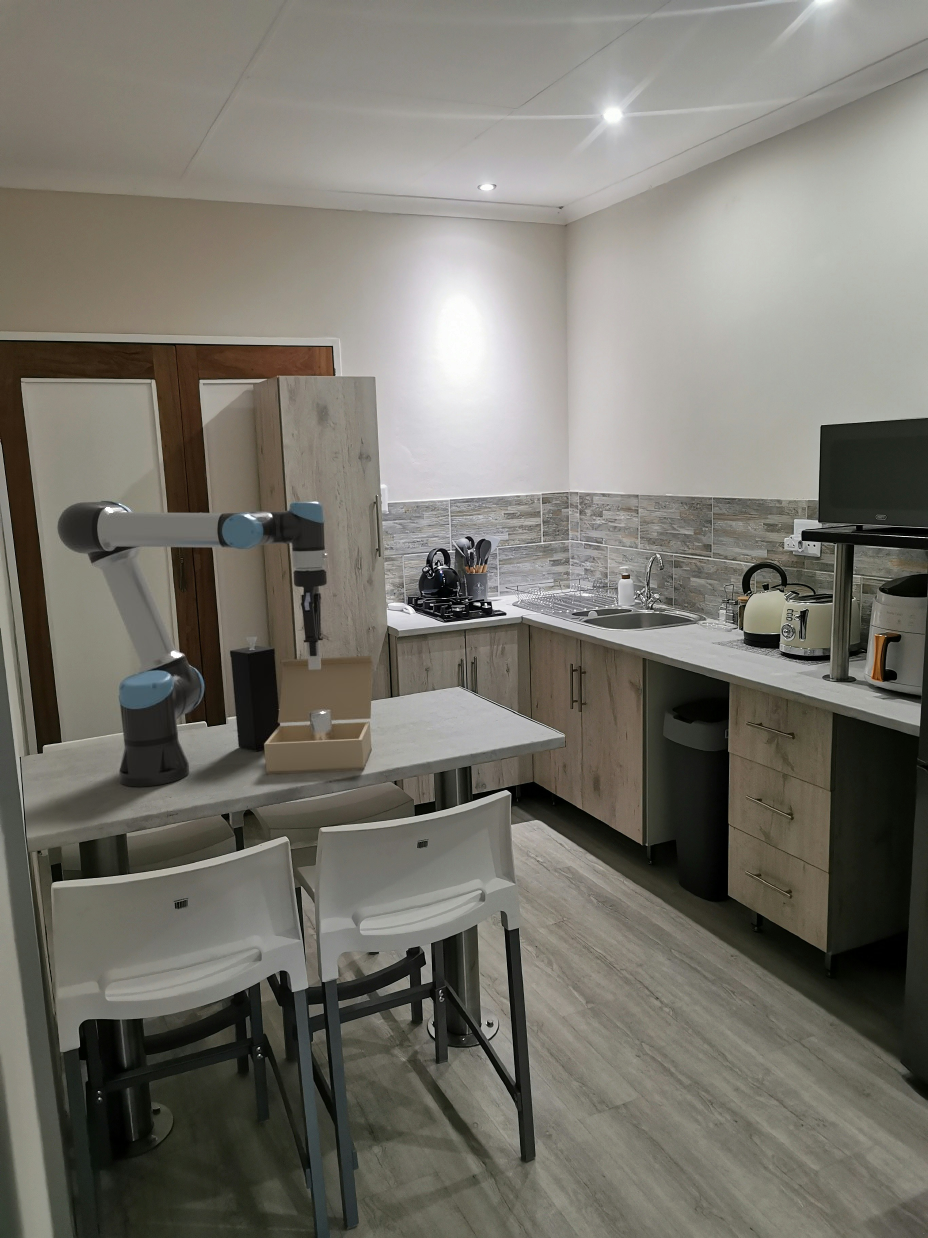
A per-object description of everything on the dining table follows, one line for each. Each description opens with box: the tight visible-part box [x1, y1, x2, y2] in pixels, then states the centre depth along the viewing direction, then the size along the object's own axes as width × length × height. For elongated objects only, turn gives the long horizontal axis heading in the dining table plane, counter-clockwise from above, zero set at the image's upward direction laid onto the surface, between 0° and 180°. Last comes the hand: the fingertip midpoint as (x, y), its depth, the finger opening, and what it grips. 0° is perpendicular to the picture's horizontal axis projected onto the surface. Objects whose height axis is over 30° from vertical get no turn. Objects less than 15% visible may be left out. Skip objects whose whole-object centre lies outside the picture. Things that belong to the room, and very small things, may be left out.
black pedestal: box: [229, 636, 281, 752], centre depth 229 cm, size 8×8×28 cm
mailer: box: [263, 721, 373, 775], centre depth 215 cm, size 22×16×7 cm
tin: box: [309, 710, 333, 741], centre depth 218 cm, size 5×5×10 cm
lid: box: [278, 655, 373, 724], centre depth 226 cm, size 22×16×3 cm
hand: (314, 668), depth 216 cm, fingers closed
